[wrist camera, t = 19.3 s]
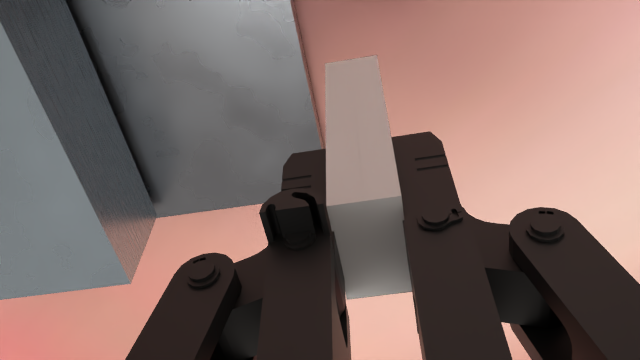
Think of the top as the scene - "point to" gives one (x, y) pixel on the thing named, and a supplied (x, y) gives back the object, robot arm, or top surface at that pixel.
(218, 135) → the vise
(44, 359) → the top surface
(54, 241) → the free jaw
